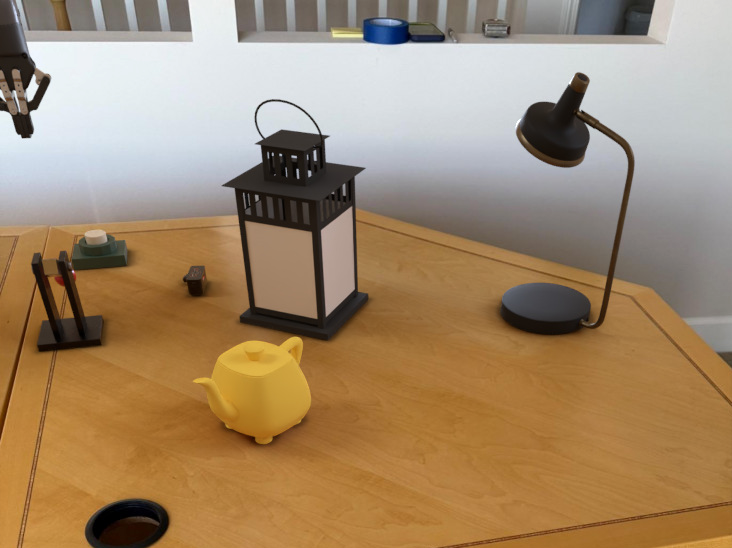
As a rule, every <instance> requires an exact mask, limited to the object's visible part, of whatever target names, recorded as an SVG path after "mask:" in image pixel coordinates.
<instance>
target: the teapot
mask: <svg viewBox="0 0 732 548" xmlns="http://www.w3.org/2000/svg"><path fill="white" fill-rule="evenodd" d="M303 347H304V342H303V339H302V338H301V337H300V336H299V337H298V336H291V337H289V338H287V340H285V341H284V342H282V343H281V344H280V345H276V344H274V343H270V342H266V341H263V340H247V341H244V342H241V343H239V344H237V345H234V346H232V347H231V348H230V349H228V350H226V351H224V352H223V353H221V354H220V355H219V356H218V357H217V359H216V362H215V364H214V367H213V371H212V373H211V377H199V378H195V379H193V380H192V383H194V384H197V385H200V386H202V387H203V388H204V390H205V392H206V397H207V402H208V406H209V407H210V410H211V411H212V412H213V414H214V415H215V416H216V417H217V418H218V419H219V420H220V421H221V422H222V423H224V425H225V427H226V428H227V429H230V430H233V431H235V432H237V433H240V434H244V435H245V436H249V437H254V441H255V442H256V443H257V444H260V445H267V444H269V443H271V442H272V441H273V439H274V438H273V437H275V436H277V435H280V434H282V433H284V432H286V431H287V430H289V429H291V428H292V427H294V426H296V425H299V424H300V423H301V422H302V419H304V417H305V416H306V415H307V413H308V411H309V410H310V408H311V405H312V395H311V390H310V387H309V383H308V381H307V378H306V376H305V374H304V372H303V371H302V369H301V367H300V362H301V359H302V355H303V349H304V348H303Z"/></svg>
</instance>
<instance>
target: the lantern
mask: <svg viewBox="0 0 732 548" xmlns="http://www.w3.org/2000/svg"><path fill="white" fill-rule="evenodd" d="M274 102H275V103H284V104H287V105H291V106H293V107H294V108H297V109H298V110H300V111H301V112H303V113H304V114H305V115H306V117H308V118H309V119H310V120H311V121H312V123H313V125H314V126H315V127H316V130H317V131H318V133H312V132H304V131H298V130H289V129H279V130H277V131H276V132H273V133H272V134H270V135H268V136H266V137H265V136H264V135H263V134H262V132H261V130H260V127H259V125H258V118H257V117H258V113H259V110H260V109H261V107H262V106H263V105H265V104H268V103H274ZM253 117H254V124H255V128H256V131H257V132H258V134H259V136H260V137H261V138H262V139H261V140H259V141H257V142H255V143H254V145H258V146H260V152H261V162H260V163H258V164H256V165H254V166H252V167H251V168H249V169H247V170H246V171H244V172H243V173H241V174H239V175H237V176H235V177H233V178H232V179H230V180H228V181H227V182H225V183H223V184H221V187H224V188H231V189H234V195H235V203H236V211H237V218H238V219H237V221H238V227H239V235H240V242H241V251H242V258H243V266H244V274H245V282H246V289H247V297H248V298H247V299H248V305H249V307H248V308H247V309H246V310H245V311H244V312H242V313H241V314H240V315H239V322H240V323H243V324H247V325H252V326H257V327H262V328H266V329H271V330H276V331H282V332H286V333H290V334H296V335H301V336H305V337H310V338H314V339H319V340H324V341H329V340H330V339H331V338H332V337H333V336H334V335H335V334H337V332H338V331H339V330H340V329H341V328H342V327H343V326H344V325H345V324H346V323H347V322H348V321H349V320H350V319H351V318H352V317H353V316H354V315H355V314H356V313H357V312H358V311H359V310H360V309H361V308H362V307H363V305H364V304H365V303H367V301H368V300H369V293H367V292H362V291H359V281H358V280H359V279H358V278H359V277H358V244H357V242H358V241H357V212H356V211H357V207H356V176H357V175H359V174H361V173H362V172H363V171H364V170H366V168H367V167H364V166H362V167H361V166H356V165H349V164H342V163H335V162H327V158H326V156H327V155H326V139H328V138H330V137H331V135H328V134H322V131H321V129H320V127H319V125H318V123H317V122H316V121H315V119H314V118H313V116H311V114H309V113H308V112H307V111H306V110H305V109H304V108H303V107H301V106H299V105H297V103H293V102H291V101H288V100H284V99H280V98H275V99H274V98H271V99H266V100H264V101H262V102H261V103H260V104H258V105H257V107H256V109H255V112H254V116H253ZM315 155H316V156H315ZM315 159H316V160H315ZM309 172H310V176H309ZM344 191H345V193H344ZM344 194H345V195H344ZM256 196H257V197H258V200H256Z"/></svg>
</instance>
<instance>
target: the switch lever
mask: <svg viewBox="0 0 732 548" xmlns="http://www.w3.org/2000/svg"><path fill="white" fill-rule="evenodd" d="M42 265H43V270H44V275H46V276H47V277H48V278H53V279H54V281H55V282H56V283H57V285H59V286H60V287H63V288H65V285H64V282H63V278H62V275H61V271H60V268H59V264H58V259H57V258H54V257H53V258H42ZM72 272H73V276H74V280H75V282H76V281H77V274H76V271H75V270H74V269H73V271H72Z"/></svg>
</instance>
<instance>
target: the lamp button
mask: <svg viewBox="0 0 732 548" xmlns="http://www.w3.org/2000/svg"><path fill="white" fill-rule="evenodd" d="M106 234H107V233H106V231H105V230H103V229H91V230H87V231H85V233H84V237H85V239H86V243H87V244H89V245H100V244H103V243H106V242H107V236H106Z"/></svg>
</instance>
